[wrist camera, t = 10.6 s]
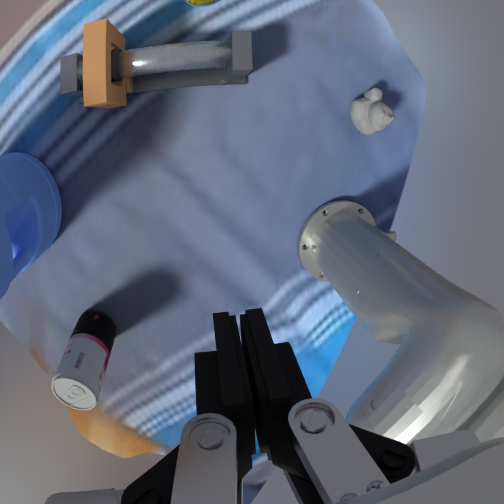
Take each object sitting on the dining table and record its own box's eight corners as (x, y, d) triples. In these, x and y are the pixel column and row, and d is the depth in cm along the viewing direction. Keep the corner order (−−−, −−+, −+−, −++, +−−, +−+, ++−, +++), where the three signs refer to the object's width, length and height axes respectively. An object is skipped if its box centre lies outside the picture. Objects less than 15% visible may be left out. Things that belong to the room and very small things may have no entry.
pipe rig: (244, 40, 32) (253, 24, 26) (245, 84, 35) (255, 76, 28) (80, 60, 29) (58, 51, 23) (80, 103, 32) (58, 101, 25)
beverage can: (124, 328, 46) (107, 399, 32) (102, 347, 46) (82, 416, 33) (93, 301, 43) (63, 369, 29) (72, 323, 44) (42, 389, 30)
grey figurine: (341, 129, 39) (370, 133, 31) (348, 83, 36) (378, 79, 29) (374, 137, 40) (407, 143, 33) (381, 94, 37) (414, 93, 30)
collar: (125, 38, 29) (106, 18, 21) (126, 105, 33) (106, 101, 25) (107, 42, 29) (84, 24, 21) (108, 108, 32) (83, 106, 24)
